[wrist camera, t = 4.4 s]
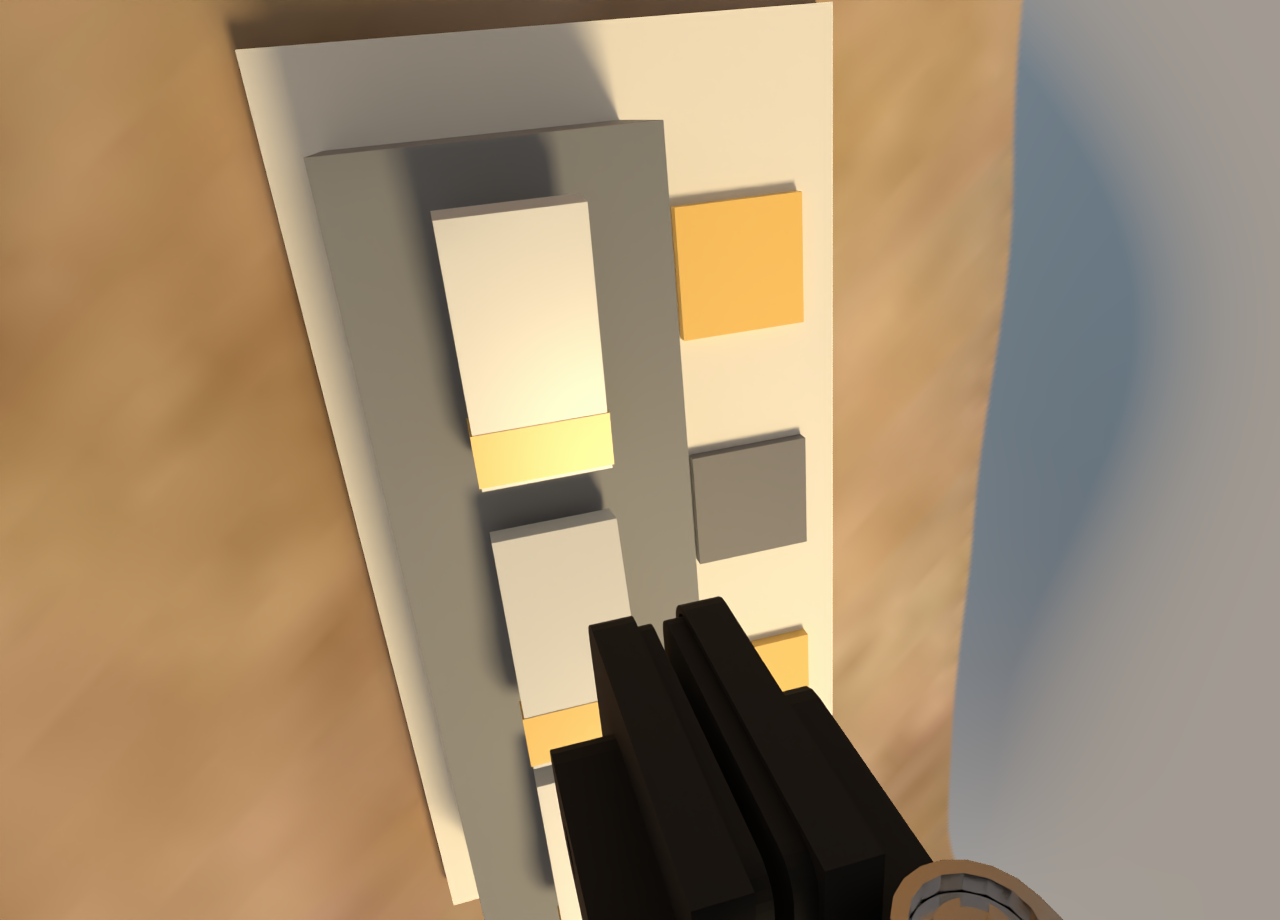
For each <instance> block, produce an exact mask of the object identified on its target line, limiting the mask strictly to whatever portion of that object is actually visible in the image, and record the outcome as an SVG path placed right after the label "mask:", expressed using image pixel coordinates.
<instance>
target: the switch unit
mask: <svg viewBox="0 0 1280 920" xmlns="http://www.w3.org/2000/svg"><path fill="white" fill-rule="evenodd" d="M235 52H236V56H237V60H238V64H239V67H240V71H241V75H242V79H243V83H244V87H245V91H246V95H247V99H248V103H249V107H250V110H251V114H252V118H253V122H254V126H255V130H256V134H257V138H258V142H259V146H260V150H261V153H262V157H263V161H264V165H265V169H266V173H267V177H268V181H269V185H270V189H271V193H272V196H273V200H274V204H275V208H276V212H277V216H278V220H279V224H280V228H281V232H282V236H283V239H284V243H285V247H286V251H287V255H288V259H289V263H290V267H291V271H292V275H293V279H294V282H295V286H296V290H297V294H298V298H299V302H300V306H301V310H302V314H303V318H304V322H305V325H306V329H307V333H308V337H309V341H310V345H311V349H312V353H313V357H314V361H315V365H316V368H317V372H318V376H319V380H320V384H321V388H322V392H323V396H324V400H325V404H326V408H327V411H328V415H329V419H330V423H331V427H332V431H333V435H334V439H335V443H336V447H337V451H338V454H339V458H340V462H341V466H342V470H343V474H344V478H345V482H346V486H347V490H348V494H349V497H350V501H351V505H352V509H353V513H354V517H355V521H356V525H357V529H358V533H359V537H360V540H361V544H362V548H363V552H364V556H365V560H366V564H367V568H368V572H369V576H370V580H371V583H372V587H373V591H374V595H375V599H376V603H377V607H378V611H379V615H380V619H381V623H382V626H383V630H384V634H385V638H386V642H387V646H388V650H389V654H390V658H391V662H392V666H393V669H394V673H395V677H396V681H397V685H398V689H399V693H400V697H401V701H402V705H403V709H404V712H405V716H406V720H407V724H408V728H409V732H410V736H411V740H412V744H413V748H414V752H415V755H416V759H417V763H418V767H419V771H420V775H421V779H422V783H423V787H424V791H425V795H426V798H427V802H428V806H429V810H430V814H431V818H432V822H433V826H434V830H435V834H436V838H437V841H438V845H439V849H440V853H441V857H442V861H443V865H444V869H445V873H446V877H447V881H448V884H449V888H450V892H451V896H452V900H453V904H454V905H457V904H460V903H464V902H467V901H471V900H474V899H478V898H479V899H480V903H481V908H482V912H483V916H484V920H560V919H559V914H558V908H557V906H559V905H558V899H557V894H556V889H555V883H554V878H553V873H552V867H551V862H550V856H549V851H548V846H547V840H546V835H545V830H544V824H543V819H542V813H541V808H540V803H539V797H538V792H537V787H536V781H535V776H534V770H533V767H531V763H530V757H529V752H528V747H527V742H526V736H525V731H524V725H523V720H522V715H521V709H520V704H519V701H521V699H520V694H519V688H518V683H517V678H516V672H515V667H514V662H513V656H512V651H511V645H510V640H509V635H508V629H507V624H506V619H505V613H504V608H503V602H502V597H501V592H500V586H499V581H498V576H497V570H496V565H495V559H494V554H493V549H492V543H491V538H490V533H489V532H493V531H498V530H503V529H508V528H513V527H518V526H523V525H528V524H533V523H538V522H543V521H548V520H553V519H559V518H564V517H569V516H574V515H579V514H584V513H589V512H594V511H599V510H604V509H610V510H611V512H612V513H613V514H614V516H615V517H616V518H617V524H618V531H619V538H620V544H621V551H622V558H623V565H624V571H625V578H626V585H627V592H628V599H629V605H630V612H631V616H633V617H634V619H635V621H636V623H637V626H642V625H646V624H652V625H653V627H654V628H655V631H656V633H657V635H658V637H659V639H660V641H661V643H662V645H663V648H664V638H663V622H664V620H668V619H673V618H676V607H677V606H678V605H681V604H686V603H690V602H695V601H699V600H704V599H708V598H713V597H717V596H720V597H722V598H723V599H724V601H725V602H726V603H727V605H728V607H729V608H730V610H731V611H732V613H733V614H734V616H735V618H736V619H737V621H738V622H739V624H740V625H741V627H742V629H743V630H744V632H745V633H746V635H747V636H748V638H749V640H750V641H751V643H752V644H753V646H754V647H755V649H756V651H757V652H758V654H759V655H760V657H761V659H762V660H763V662H764V663H765V665H766V666H767V668H768V670H769V671H770V673H771V674H772V676H773V677H774V679H775V681H776V682H777V684H778V685H779V687H780V688H781V690H782V692H783V691H787V690H791V689H795V688H799V687H803V686H808V687H809V688H811V689H813V690H814V692H815V693H816V694H817V695H818V696H819V697H820V699H821V700H822V702H823V703H824V705H825V706H826V707H827V709H828V710H829V712H830V713H831V715H832V656H833V2H822V3H810V4H797V5H785V6H772V7H760V8H747V9H735V10H723V11H710V12H698V13H685V14H673V15H660V16H648V17H636V18H623V19H611V20H598V21H586V22H574V23H561V24H549V25H536V26H524V27H511V28H499V29H487V30H474V31H462V32H449V33H437V34H424V35H412V36H400V37H387V38H375V39H362V40H350V41H337V42H325V43H313V44H300V45H288V46H275V47H263V48H250V49H238V50H235ZM574 193H579V194H580V195H581V196H582V197H583V198H584V199H585V200H586V201H587V202H588V212H589V223H590V233H591V244H592V254H593V265H594V276H595V286H596V297H597V308H598V318H599V329H600V340H601V350H602V361H603V372H604V382H605V393H606V404H607V409H608V411H609V413H610V422H611V433H612V444H613V455H614V464H612V467H613V468H608V469H603V470H597V471H592V472H587V473H582V474H576V475H571V476H566V477H560V478H555V479H550V480H544V481H539V482H534V483H528V484H523V485H518V486H512V487H507V488H502V489H496V490H491V491H486V492H482V489H479V484H478V478H477V473H476V468H475V462H474V457H473V452H472V446H471V441H470V436H469V430H468V425H467V419H466V418H468V413H467V408H466V402H465V397H464V391H463V386H462V381H461V375H460V370H459V364H458V359H457V353H456V348H455V343H454V337H453V332H452V326H451V321H450V315H449V310H448V305H447V299H446V294H445V288H444V283H443V277H442V272H441V267H440V261H439V256H438V250H437V245H436V240H435V234H434V229H433V223H432V218H431V212H430V211H434V210H442V209H450V208H459V207H467V206H475V205H483V204H492V203H500V202H508V201H516V200H525V199H533V198H541V197H549V196H558V195H566V194H574ZM664 650H665V649H664Z"/></svg>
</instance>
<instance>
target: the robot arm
mask: <svg viewBox="0 0 1280 920" xmlns="http://www.w3.org/2000/svg"><path fill="white" fill-rule="evenodd" d="M588 633H589V641H590V649H591V656H592V664H593V671H594V678H595V686H596V693H597V700H598V708H599V715H600V722H601V730H602V737H599V738H595V739H591V740H587V741H583V742H579V743H575V744H571V745H567V746H563V747H559V748H555V749H551V750H550V757H551V763H552V769H553V775H554V781H555V786H556V792H557V798H558V803H559V809H560V814H561V820H562V825H563V830H564V835H565V840H566V845H567V850H568V855H569V860H570V865H571V870H572V874H573V879H574V884H575V888H576V893H577V898H578V902H579V907H580V912H581V916H582V920H1063V919H1062V918H1061V917H1060V916H1059V915H1058V914H1057V913H1056V912H1055V911H1054V910H1053V909H1052V908H1051V907H1050V906H1049V905H1048V904H1047V903H1046V902H1045V901H1044V900H1043V899H1042V898H1041V897H1040V896H1039V895H1038V894H1036V893H1035V892H1034V891H1033V890H1031V889H1030V888H1029V887H1028V886H1026V885H1025V884H1024V883H1023V882H1021V881H1020V880H1019V879H1017V878H1015V877H1014V876H1012V875H1010V874H1008V873H1005V872H1003V871H1002V870H999V869H997V868H995V867H993V866H990V865H986V864H982V863H978V862H974V861H970V860H940V861H936V862H933V861H932V859H931V858H930V857H929V855H928V854H927V852H926V851H925V849H924V848H923V846H922V845H921V844H920V842H919V841H918V839H917V838H916V836H915V835H914V833H913V832H912V831H911V829H910V828H909V826H908V825H907V823H906V822H905V820H904V819H903V817H902V816H901V815H900V813H899V812H898V810H897V809H896V807H895V806H894V804H893V803H892V802H891V800H890V799H889V797H888V796H887V794H886V793H885V791H884V790H883V789H882V787H881V786H880V784H879V783H878V781H877V780H876V778H875V777H874V775H873V774H872V773H871V771H870V770H869V768H868V767H867V765H866V764H865V762H864V761H863V760H862V758H861V757H860V755H859V754H858V752H857V751H856V749H855V748H854V747H853V745H852V744H851V742H850V741H849V739H848V738H847V736H846V735H845V734H844V732H843V731H842V729H841V728H840V726H839V725H838V723H837V722H836V720H835V719H834V718H833V716H832V715H831V713H830V712H829V710H828V709H827V707H826V706H825V705H824V703H823V702H822V700H821V699H820V697H819V696H818V695H817V694H816V693H815V692H814V690H813V689H811V688H809V687H808V686H803V687H799V688H795V689H791V690H787V691H783V692H782V690H781V688H780V687H779V685H778V684H777V682H776V681H775V679H774V677H773V676H772V674H771V673H770V671H769V670H768V668H767V666H766V665H765V663H764V662H763V660H762V659H761V657H760V655H759V654H758V652H757V651H756V649H755V647H754V646H753V644H752V643H751V641H750V640H749V638H748V636H747V635H746V633H745V632H744V630H743V629H742V627H741V625H740V624H739V622H738V621H737V619H736V618H735V616H734V614H733V613H732V611H731V610H730V608H729V607H728V605H727V603H726V602H725V601H724V599H723V598H722V597H720V596H717V597H713V598H708V599H704V600H699V601H695V602H690V603H686V604H681V605H678V606H677V607H676V618H673V619H668V620H664V622H663V638H664V648H663V645H662V643H661V641H660V639H659V637H658V635H657V633H656V631H655V628H654V627H653V625H652V624H646V625H642V626H637V623H636V621H635V619H634V617H633V616H628V617H623V618H619V619H614V620H610V621H605V622H601V623H596V624H592V625H589V627H588ZM664 649H665V650H664Z"/></svg>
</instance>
